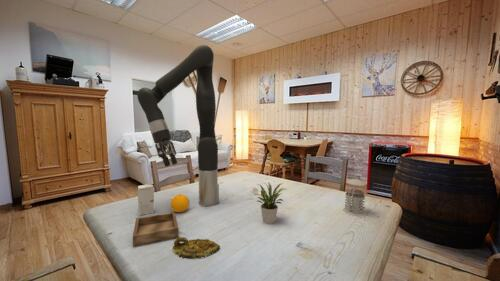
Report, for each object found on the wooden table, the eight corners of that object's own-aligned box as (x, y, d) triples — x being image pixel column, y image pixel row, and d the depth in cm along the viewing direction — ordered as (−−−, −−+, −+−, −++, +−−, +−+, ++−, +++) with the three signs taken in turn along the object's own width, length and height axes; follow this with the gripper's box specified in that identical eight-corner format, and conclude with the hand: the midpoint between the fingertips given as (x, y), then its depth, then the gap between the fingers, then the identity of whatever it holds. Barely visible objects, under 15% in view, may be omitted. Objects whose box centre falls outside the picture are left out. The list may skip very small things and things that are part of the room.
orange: (167, 212, 94) (166, 196, 93) (179, 206, 101) (178, 190, 101) (181, 215, 91) (181, 198, 90) (192, 208, 98) (192, 193, 98)
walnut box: (174, 220, 87) (174, 211, 86) (178, 237, 74) (178, 227, 74) (136, 227, 81) (136, 218, 81) (133, 246, 68) (132, 236, 68)
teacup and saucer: (266, 194, 119) (266, 187, 119) (259, 198, 113) (259, 191, 112) (252, 191, 124) (252, 184, 124) (245, 195, 117) (245, 188, 117)
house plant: (291, 216, 92) (292, 179, 90) (286, 231, 79) (287, 189, 77) (260, 211, 96) (260, 176, 95) (250, 225, 83) (251, 185, 82)
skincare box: (139, 215, 90) (138, 188, 89) (138, 212, 94) (137, 185, 93) (154, 212, 94) (153, 186, 93) (153, 208, 98) (152, 183, 96)
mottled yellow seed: (220, 243, 73) (175, 246, 71) (220, 230, 73) (175, 232, 71) (219, 258, 64) (168, 261, 62) (219, 242, 64) (168, 245, 62)
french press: (368, 211, 97) (372, 158, 94) (361, 220, 88) (365, 161, 86) (346, 205, 103) (349, 155, 101) (337, 213, 95) (340, 158, 92)
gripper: (161, 127, 88) (173, 163, 88) (173, 129, 102) (184, 161, 102) (144, 133, 88) (156, 169, 88) (159, 134, 102) (170, 166, 102)
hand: (171, 165), depth 95 cm, fingers open, 8 cm apart
